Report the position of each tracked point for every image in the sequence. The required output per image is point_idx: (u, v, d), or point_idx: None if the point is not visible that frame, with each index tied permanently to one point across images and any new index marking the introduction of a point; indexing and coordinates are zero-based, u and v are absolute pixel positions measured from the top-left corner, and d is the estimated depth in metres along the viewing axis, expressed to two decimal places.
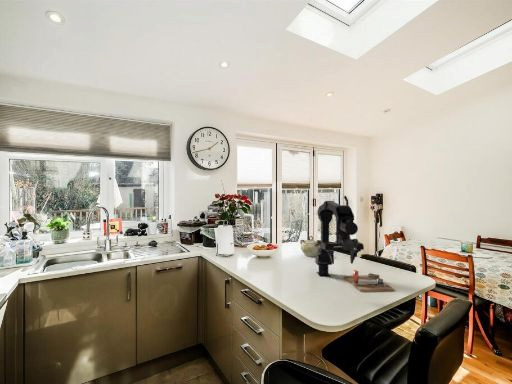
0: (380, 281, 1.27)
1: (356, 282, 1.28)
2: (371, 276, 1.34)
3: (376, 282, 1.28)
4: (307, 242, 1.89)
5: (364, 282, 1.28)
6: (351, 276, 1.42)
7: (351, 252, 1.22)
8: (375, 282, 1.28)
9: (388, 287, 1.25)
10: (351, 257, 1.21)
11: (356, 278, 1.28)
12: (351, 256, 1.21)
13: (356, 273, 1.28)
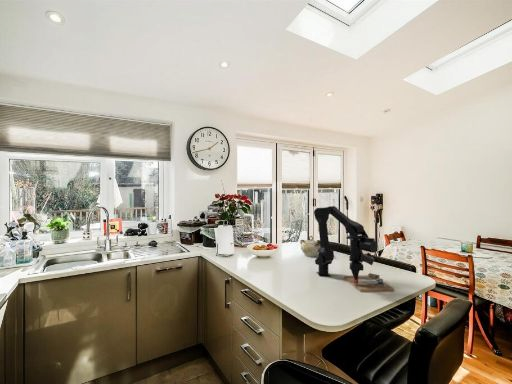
0: (380, 281, 1.27)
1: (356, 282, 1.28)
2: (371, 276, 1.34)
3: (376, 282, 1.28)
4: (307, 242, 1.89)
5: (364, 282, 1.28)
6: (351, 276, 1.42)
7: None
8: (375, 282, 1.28)
9: (388, 287, 1.25)
10: None
11: None
12: None
13: None
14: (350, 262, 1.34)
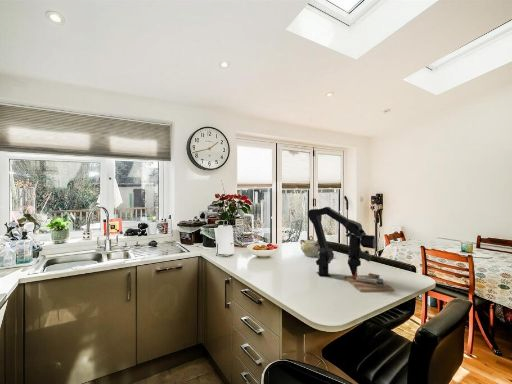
0: (378, 281, 1.27)
1: (354, 278, 1.34)
2: (371, 276, 1.34)
3: (375, 281, 1.29)
4: (307, 242, 1.89)
5: (362, 279, 1.32)
6: (351, 276, 1.42)
7: None
8: (374, 281, 1.29)
9: (388, 287, 1.25)
10: None
11: None
12: None
13: None
14: (349, 258, 1.43)
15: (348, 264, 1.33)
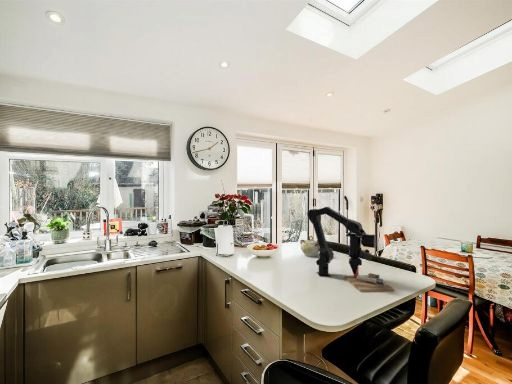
0: (378, 281, 1.28)
1: (355, 277, 1.36)
2: (371, 276, 1.34)
3: (374, 281, 1.29)
4: (307, 242, 1.89)
5: (362, 278, 1.33)
6: (351, 276, 1.42)
7: None
8: (373, 281, 1.30)
9: (388, 287, 1.25)
10: None
11: None
12: None
13: None
14: None
15: (349, 263, 1.34)
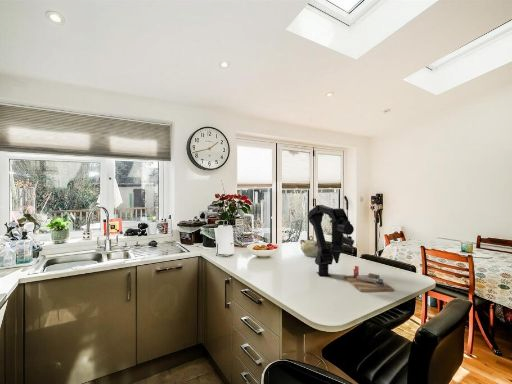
0: (378, 281, 1.28)
1: (355, 277, 1.36)
2: (371, 276, 1.34)
3: (374, 281, 1.29)
4: (307, 242, 1.89)
5: (362, 278, 1.33)
6: (351, 276, 1.42)
7: None
8: (373, 281, 1.30)
9: (388, 287, 1.25)
10: None
11: (355, 273, 1.36)
12: None
13: (355, 268, 1.36)
14: None
15: (331, 251, 1.29)
